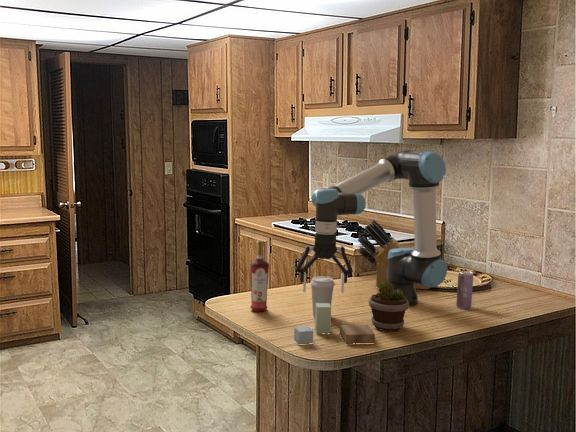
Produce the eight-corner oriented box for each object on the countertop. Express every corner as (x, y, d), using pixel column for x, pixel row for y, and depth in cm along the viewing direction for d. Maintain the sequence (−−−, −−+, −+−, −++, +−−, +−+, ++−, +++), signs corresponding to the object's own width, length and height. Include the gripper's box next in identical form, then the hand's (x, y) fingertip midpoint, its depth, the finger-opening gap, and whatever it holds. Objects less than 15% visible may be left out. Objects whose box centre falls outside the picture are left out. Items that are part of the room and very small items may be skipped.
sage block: (328, 329, 230) (329, 303, 228) (330, 334, 225) (331, 307, 224) (314, 329, 230) (315, 303, 228) (316, 334, 225) (317, 307, 223)
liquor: (250, 313, 247) (251, 242, 243) (248, 307, 254) (250, 239, 250) (269, 312, 248) (270, 242, 244) (266, 307, 255) (268, 239, 251)
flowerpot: (380, 318, 245) (382, 268, 242) (415, 327, 235) (418, 275, 232) (359, 327, 233) (361, 274, 230) (395, 337, 224) (398, 282, 221)
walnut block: (366, 335, 226) (367, 324, 225) (374, 345, 216) (374, 334, 215) (339, 335, 225) (339, 325, 224) (345, 346, 215) (346, 334, 214)
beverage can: (472, 306, 263) (474, 271, 261) (469, 310, 258) (472, 274, 256) (457, 304, 266) (459, 270, 264) (454, 308, 260) (457, 273, 258)
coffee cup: (316, 321, 239) (318, 283, 237) (304, 314, 247) (305, 277, 245) (338, 318, 243) (339, 280, 241) (325, 311, 252) (326, 274, 249)
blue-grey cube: (307, 339, 219) (307, 326, 218) (312, 344, 214) (313, 330, 214) (293, 341, 217) (294, 327, 217) (299, 346, 213) (299, 331, 212)
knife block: (356, 280, 303) (359, 216, 298) (431, 284, 298) (435, 220, 293) (355, 286, 292) (358, 220, 287) (433, 291, 287) (437, 223, 282)
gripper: (291, 233, 217) (289, 293, 220) (362, 235, 219) (359, 294, 222) (289, 230, 224) (287, 288, 228) (358, 231, 227) (355, 289, 230)
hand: (323, 291), depth 225 cm, fingers open, 13 cm apart
